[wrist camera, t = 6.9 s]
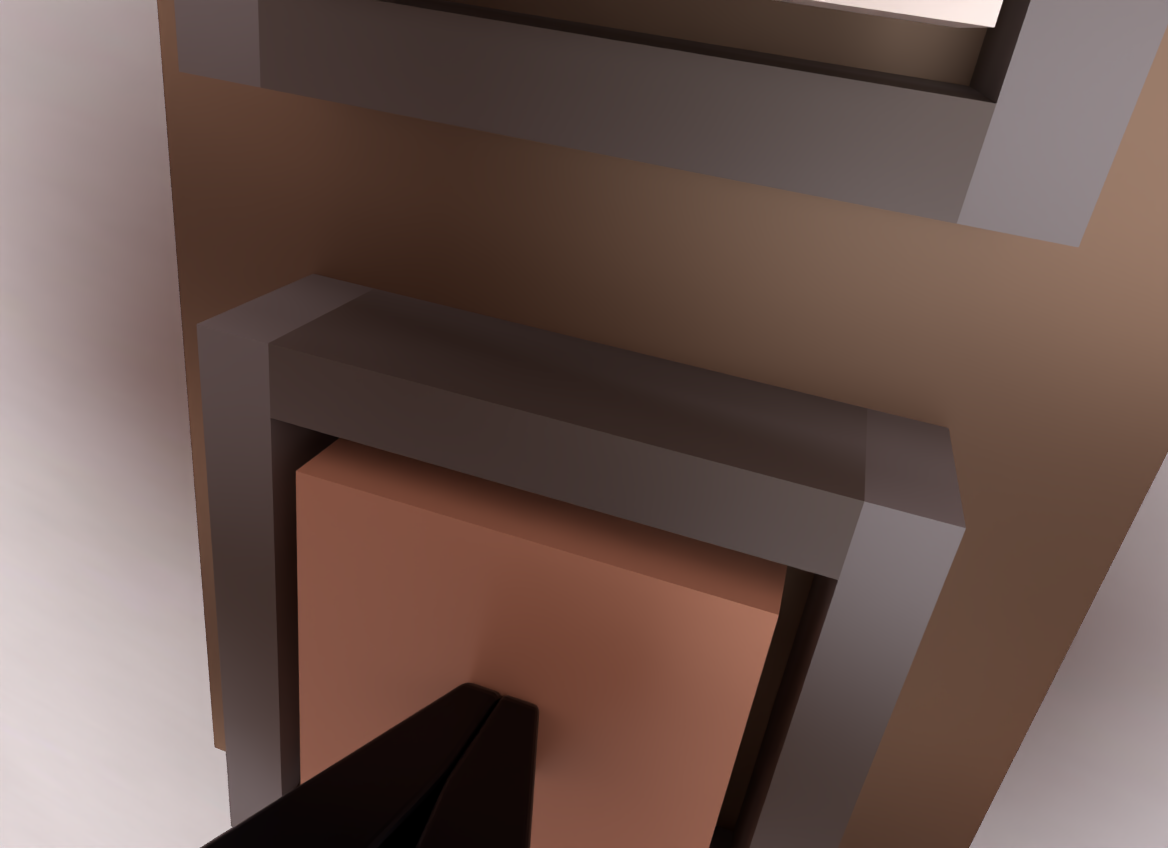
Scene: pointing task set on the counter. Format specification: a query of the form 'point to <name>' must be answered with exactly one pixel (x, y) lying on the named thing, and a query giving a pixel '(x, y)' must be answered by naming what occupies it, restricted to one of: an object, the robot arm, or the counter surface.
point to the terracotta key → (531, 638)
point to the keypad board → (695, 336)
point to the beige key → (920, 10)
